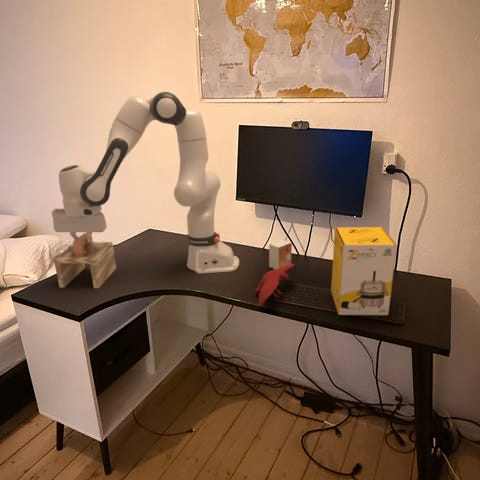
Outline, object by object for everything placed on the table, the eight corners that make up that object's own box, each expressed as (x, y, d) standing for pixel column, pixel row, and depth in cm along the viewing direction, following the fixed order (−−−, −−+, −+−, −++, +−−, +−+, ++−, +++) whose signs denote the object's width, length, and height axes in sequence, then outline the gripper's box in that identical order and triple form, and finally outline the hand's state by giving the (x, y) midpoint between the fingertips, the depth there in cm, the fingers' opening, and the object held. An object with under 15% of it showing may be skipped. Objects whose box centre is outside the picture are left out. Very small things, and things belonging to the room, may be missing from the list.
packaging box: (376, 291, 148) (382, 227, 139) (388, 315, 133) (396, 244, 124) (331, 291, 149) (334, 227, 140) (338, 315, 134) (343, 245, 125)
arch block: (84, 263, 158) (80, 242, 155) (76, 263, 159) (72, 242, 155) (94, 253, 168) (91, 233, 164) (87, 253, 168) (84, 233, 165)
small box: (278, 271, 166) (278, 247, 163) (268, 267, 170) (268, 244, 166) (291, 265, 171) (292, 242, 167) (281, 261, 175) (282, 238, 171)
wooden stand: (116, 268, 174) (111, 237, 169) (98, 288, 157) (93, 255, 152) (80, 267, 175) (74, 237, 170) (59, 287, 159) (52, 254, 154)
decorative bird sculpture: (252, 324, 138) (281, 302, 130) (234, 304, 139) (261, 280, 131) (281, 288, 162) (307, 267, 154) (265, 271, 162) (290, 249, 154)
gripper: (46, 211, 154) (53, 244, 159) (98, 210, 152) (104, 245, 157) (55, 206, 159) (61, 239, 164) (105, 206, 157) (110, 239, 162)
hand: (82, 242), depth 161 cm, fingers closed on arch block, 3 cm apart
